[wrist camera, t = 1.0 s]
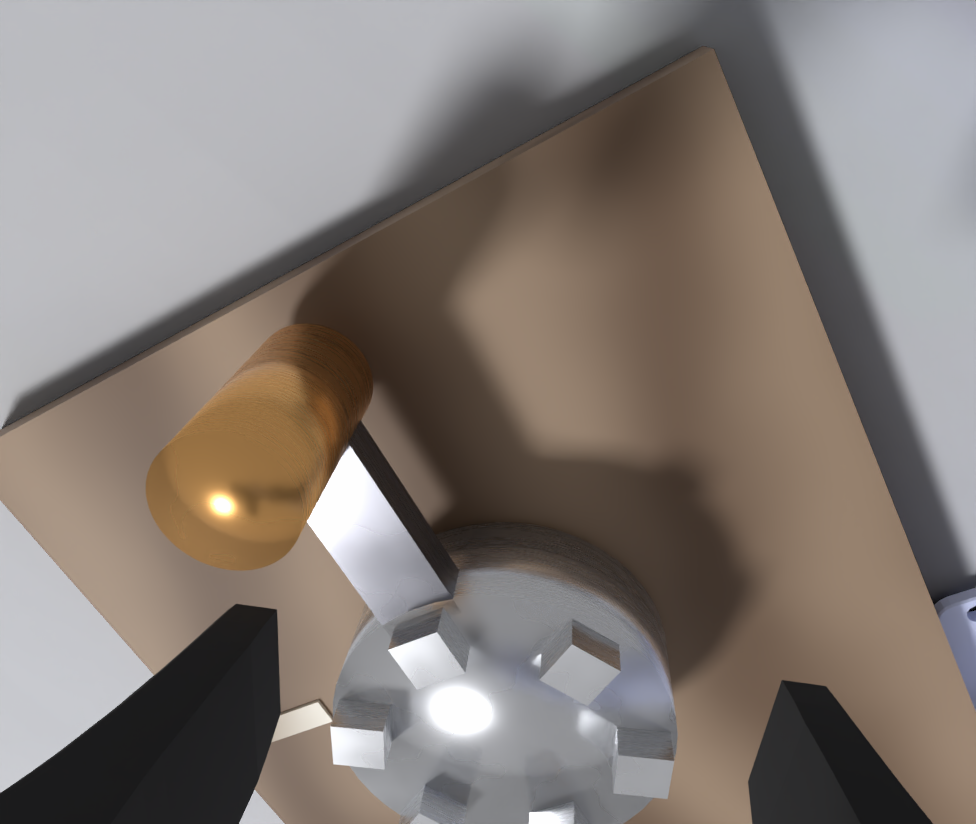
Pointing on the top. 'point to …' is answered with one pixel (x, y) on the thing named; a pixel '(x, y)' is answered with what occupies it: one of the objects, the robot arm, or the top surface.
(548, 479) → the plain tan brown board
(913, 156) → the top surface
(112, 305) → the top surface
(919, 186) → the top surface
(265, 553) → the crank handle wheel
